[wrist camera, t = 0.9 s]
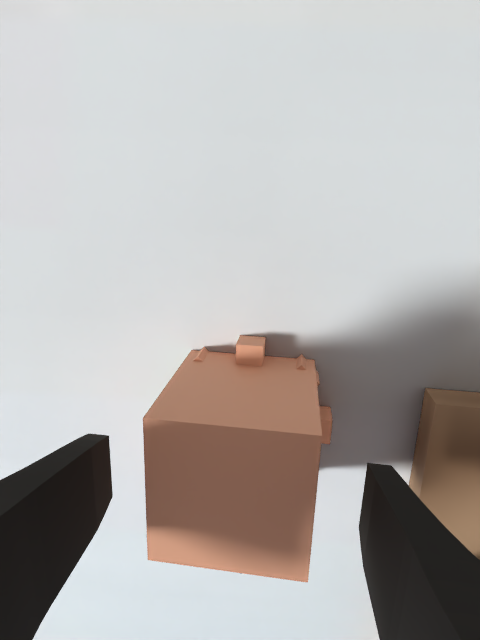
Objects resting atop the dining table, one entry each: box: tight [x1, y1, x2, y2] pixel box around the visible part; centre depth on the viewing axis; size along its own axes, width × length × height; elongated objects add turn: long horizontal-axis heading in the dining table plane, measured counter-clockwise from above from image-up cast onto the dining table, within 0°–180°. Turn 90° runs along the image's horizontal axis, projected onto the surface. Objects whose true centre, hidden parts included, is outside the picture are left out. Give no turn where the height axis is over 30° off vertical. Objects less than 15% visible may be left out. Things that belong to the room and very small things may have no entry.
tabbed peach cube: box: [143, 335, 332, 582], centre depth 13 cm, size 6×6×5 cm
